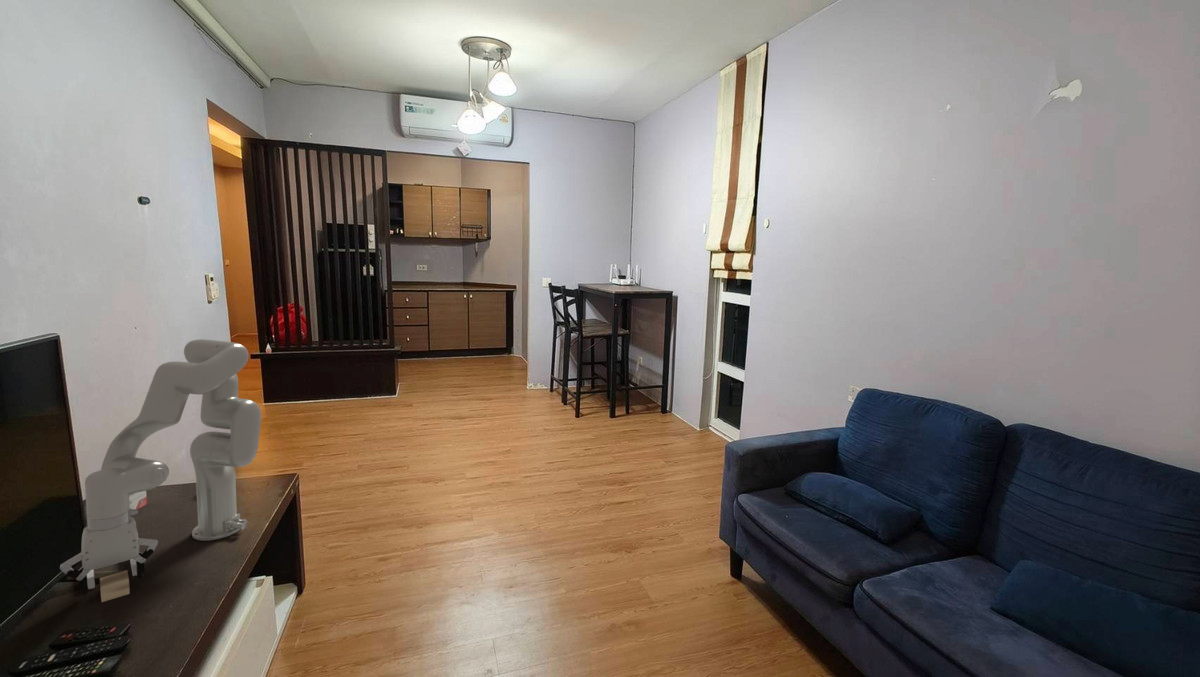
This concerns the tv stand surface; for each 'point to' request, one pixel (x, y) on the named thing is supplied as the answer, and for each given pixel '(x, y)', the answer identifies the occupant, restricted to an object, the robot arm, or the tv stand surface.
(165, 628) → the tv stand surface
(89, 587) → the frosted channel
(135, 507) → the ink cartridge box
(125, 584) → the maple block
